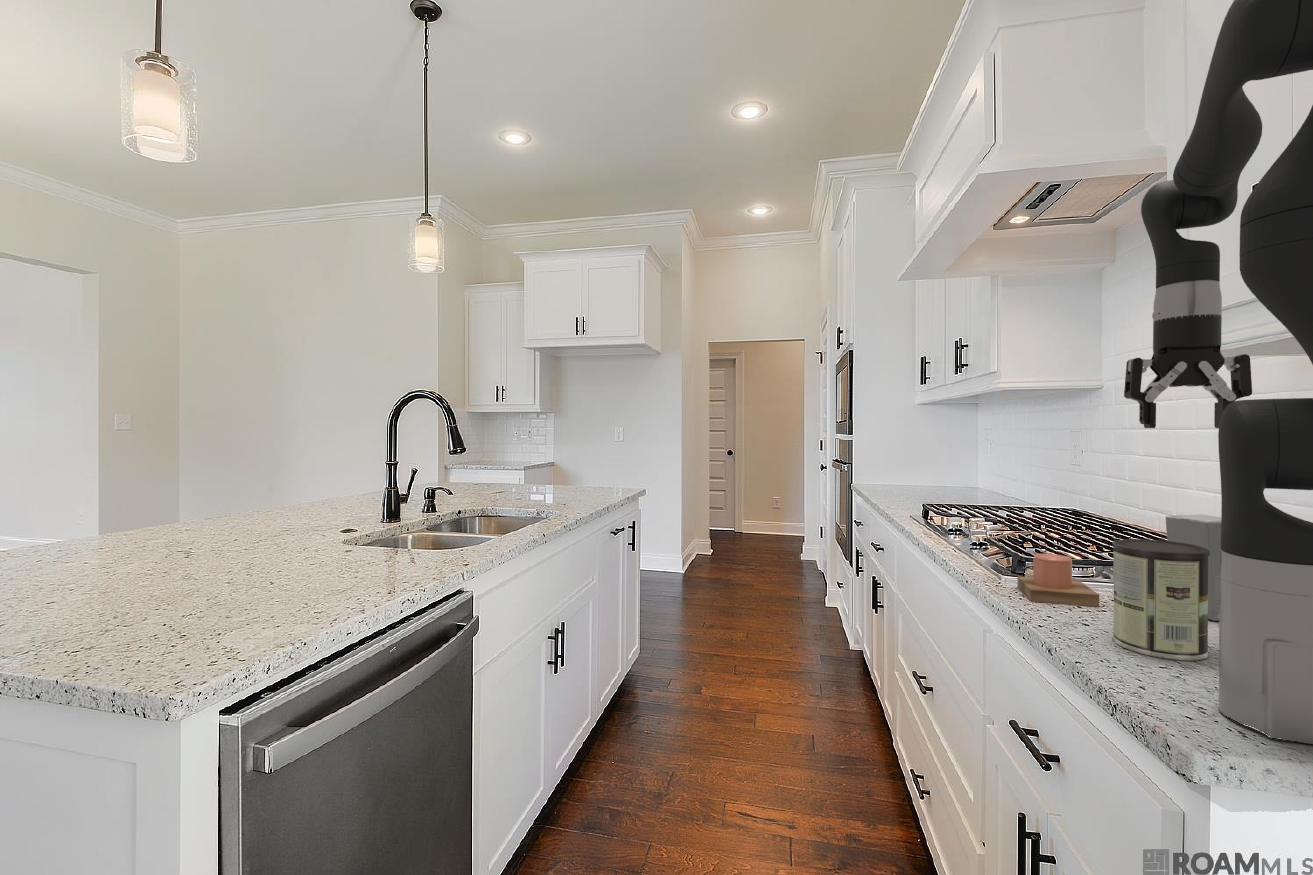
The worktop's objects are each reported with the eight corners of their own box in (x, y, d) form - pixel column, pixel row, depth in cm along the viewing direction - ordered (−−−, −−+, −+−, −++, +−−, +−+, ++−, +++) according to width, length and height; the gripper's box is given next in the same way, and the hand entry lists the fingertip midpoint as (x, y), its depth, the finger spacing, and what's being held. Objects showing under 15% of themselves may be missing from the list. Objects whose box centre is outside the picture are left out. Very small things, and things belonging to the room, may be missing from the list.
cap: (1055, 580, 112) (1055, 553, 112) (1079, 588, 106) (1079, 559, 106) (1026, 581, 111) (1027, 553, 111) (1049, 589, 106) (1049, 560, 105)
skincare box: (1254, 622, 94) (1256, 520, 93) (1207, 622, 94) (1208, 520, 94) (1206, 606, 102) (1207, 512, 102) (1163, 606, 102) (1164, 512, 102)
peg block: (1099, 606, 102) (1099, 571, 102) (1031, 601, 105) (1031, 567, 105) (1079, 591, 111) (1079, 558, 111) (1017, 586, 115) (1017, 555, 115)
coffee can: (1153, 632, 90) (1154, 537, 89) (1230, 658, 79) (1231, 551, 79) (1092, 636, 88) (1093, 539, 88) (1163, 664, 78) (1164, 554, 77)
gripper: (1138, 315, 87) (1137, 428, 87) (1264, 309, 82) (1262, 428, 83) (1118, 323, 94) (1117, 428, 95) (1233, 318, 90) (1231, 427, 90)
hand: (1185, 428), depth 89 cm, fingers open, 8 cm apart
